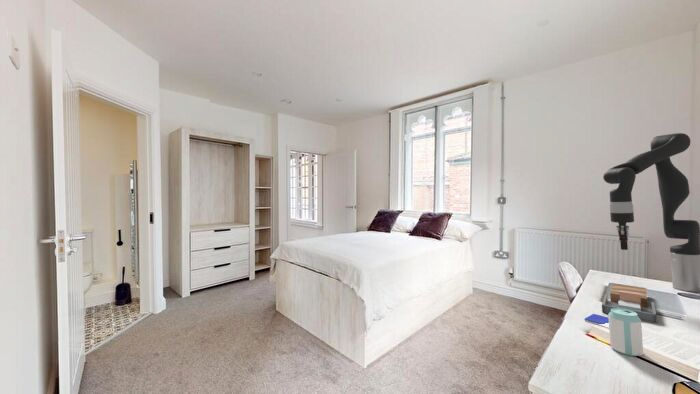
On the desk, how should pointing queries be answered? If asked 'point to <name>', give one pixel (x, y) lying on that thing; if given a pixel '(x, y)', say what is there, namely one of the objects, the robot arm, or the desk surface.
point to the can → (625, 332)
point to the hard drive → (597, 319)
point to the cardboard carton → (616, 287)
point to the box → (644, 314)
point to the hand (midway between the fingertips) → (624, 249)
